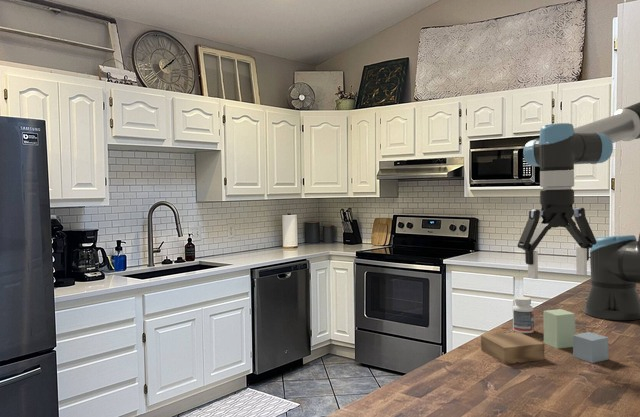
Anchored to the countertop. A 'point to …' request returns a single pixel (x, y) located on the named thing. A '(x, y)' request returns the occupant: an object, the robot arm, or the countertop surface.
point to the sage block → (559, 328)
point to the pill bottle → (523, 315)
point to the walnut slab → (512, 347)
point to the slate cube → (590, 347)
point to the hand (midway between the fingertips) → (557, 276)
